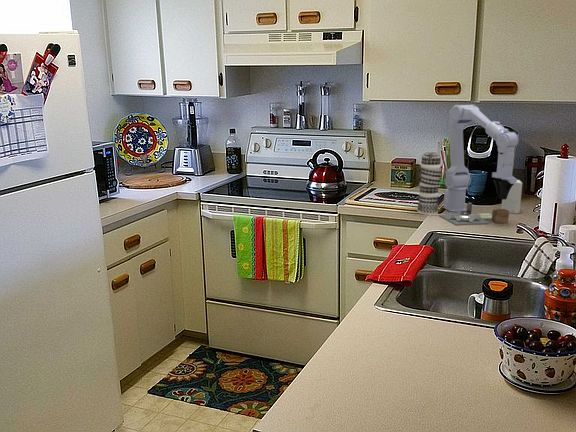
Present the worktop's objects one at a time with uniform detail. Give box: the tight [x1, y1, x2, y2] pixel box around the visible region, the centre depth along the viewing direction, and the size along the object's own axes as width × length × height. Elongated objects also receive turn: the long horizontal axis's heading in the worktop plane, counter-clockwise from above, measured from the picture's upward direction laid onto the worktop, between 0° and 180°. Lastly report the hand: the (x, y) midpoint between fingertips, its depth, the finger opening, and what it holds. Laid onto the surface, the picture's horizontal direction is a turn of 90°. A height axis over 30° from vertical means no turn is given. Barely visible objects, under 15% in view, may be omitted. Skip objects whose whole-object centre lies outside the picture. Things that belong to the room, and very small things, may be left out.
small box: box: [500, 179, 524, 214], centre depth 259 cm, size 8×6×13 cm
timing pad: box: [479, 212, 492, 221], centre depth 249 cm, size 8×7×1 cm
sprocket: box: [448, 202, 481, 222], centre depth 243 cm, size 12×12×5 cm
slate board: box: [438, 213, 490, 226], centre depth 244 cm, size 15×14×1 cm
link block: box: [491, 208, 510, 225], centre depth 241 cm, size 4×5×5 cm
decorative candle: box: [417, 151, 443, 216], centre depth 253 cm, size 9×9×25 cm
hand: (501, 198), depth 239 cm, fingers closed
